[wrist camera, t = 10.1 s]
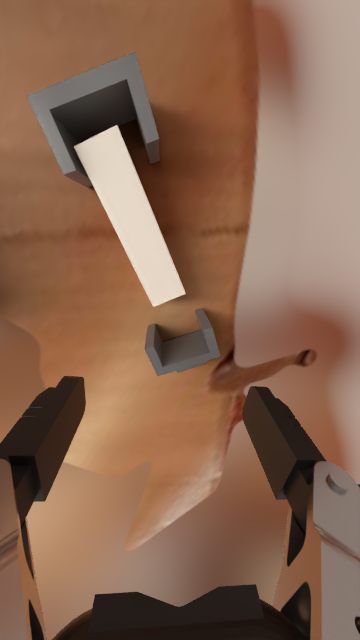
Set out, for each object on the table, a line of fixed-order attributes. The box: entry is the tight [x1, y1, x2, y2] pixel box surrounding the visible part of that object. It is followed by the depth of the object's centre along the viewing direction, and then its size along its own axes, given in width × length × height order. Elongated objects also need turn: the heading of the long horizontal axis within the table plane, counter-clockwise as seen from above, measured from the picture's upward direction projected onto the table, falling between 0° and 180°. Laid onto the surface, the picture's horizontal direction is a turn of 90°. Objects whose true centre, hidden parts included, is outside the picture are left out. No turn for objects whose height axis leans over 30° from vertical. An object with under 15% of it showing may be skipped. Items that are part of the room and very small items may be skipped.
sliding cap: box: [145, 308, 221, 376], centre depth 26 cm, size 6×8×6 cm
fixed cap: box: [27, 52, 160, 187], centre depth 17 cm, size 4×8×6 cm, turn 108°
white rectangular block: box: [74, 125, 186, 307], centre depth 20 cm, size 14×4×5 cm, turn 22°
